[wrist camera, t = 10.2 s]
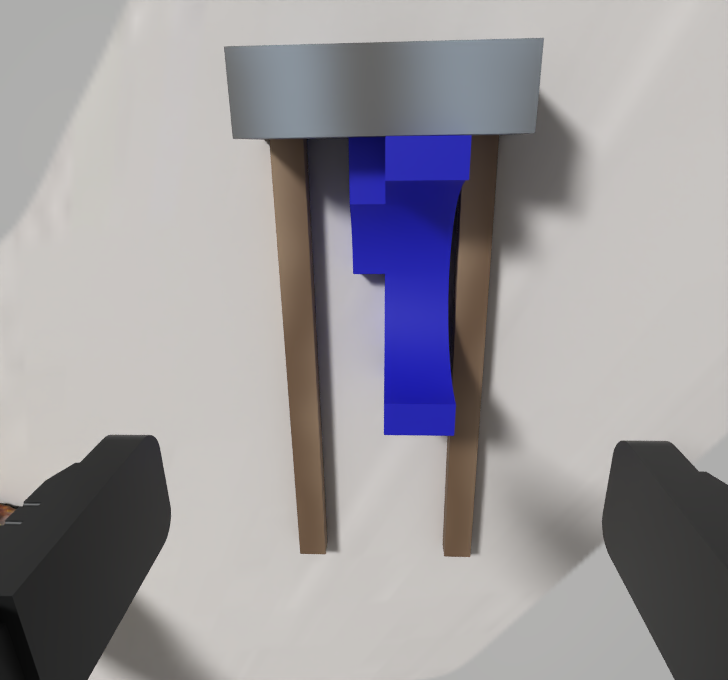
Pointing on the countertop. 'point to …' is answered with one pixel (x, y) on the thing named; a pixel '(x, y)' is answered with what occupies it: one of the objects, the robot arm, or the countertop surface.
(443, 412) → the cable clip
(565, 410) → the countertop surface
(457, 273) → the guide channel
